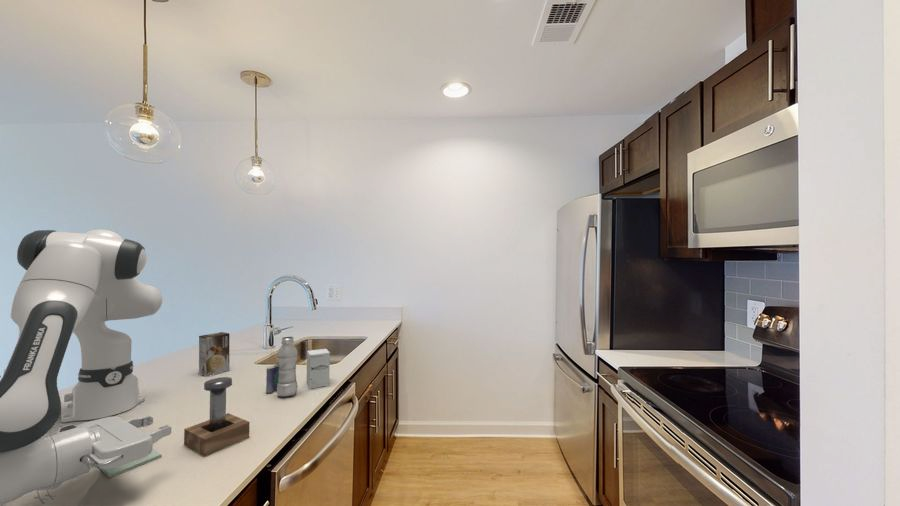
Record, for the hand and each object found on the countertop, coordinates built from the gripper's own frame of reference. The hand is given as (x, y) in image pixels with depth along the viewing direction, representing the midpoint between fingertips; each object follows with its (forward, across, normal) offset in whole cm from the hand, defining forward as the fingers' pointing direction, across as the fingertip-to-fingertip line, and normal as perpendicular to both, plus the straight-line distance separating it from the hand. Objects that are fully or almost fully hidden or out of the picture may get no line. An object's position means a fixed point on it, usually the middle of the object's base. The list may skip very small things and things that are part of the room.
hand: (160, 424), depth 79 cm
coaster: (-3, +8, +9) cm, 12 cm away
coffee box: (+40, +61, +9) cm, 74 cm away
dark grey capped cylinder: (+12, 0, +9) cm, 15 cm away
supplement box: (+52, +11, +9) cm, 55 cm away
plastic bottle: (+40, +12, +9) cm, 43 cm away
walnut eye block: (+12, 0, +9) cm, 15 cm away
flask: (+42, +20, +9) cm, 48 cm away
